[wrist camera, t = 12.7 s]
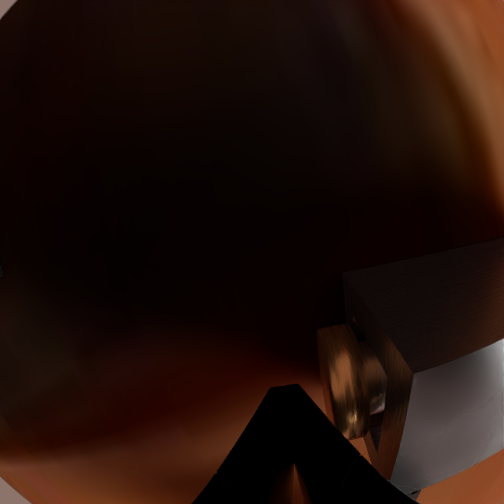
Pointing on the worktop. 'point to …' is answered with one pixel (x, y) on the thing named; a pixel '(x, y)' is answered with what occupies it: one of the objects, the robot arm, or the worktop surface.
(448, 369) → the block
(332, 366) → the press pin
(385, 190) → the worktop surface
